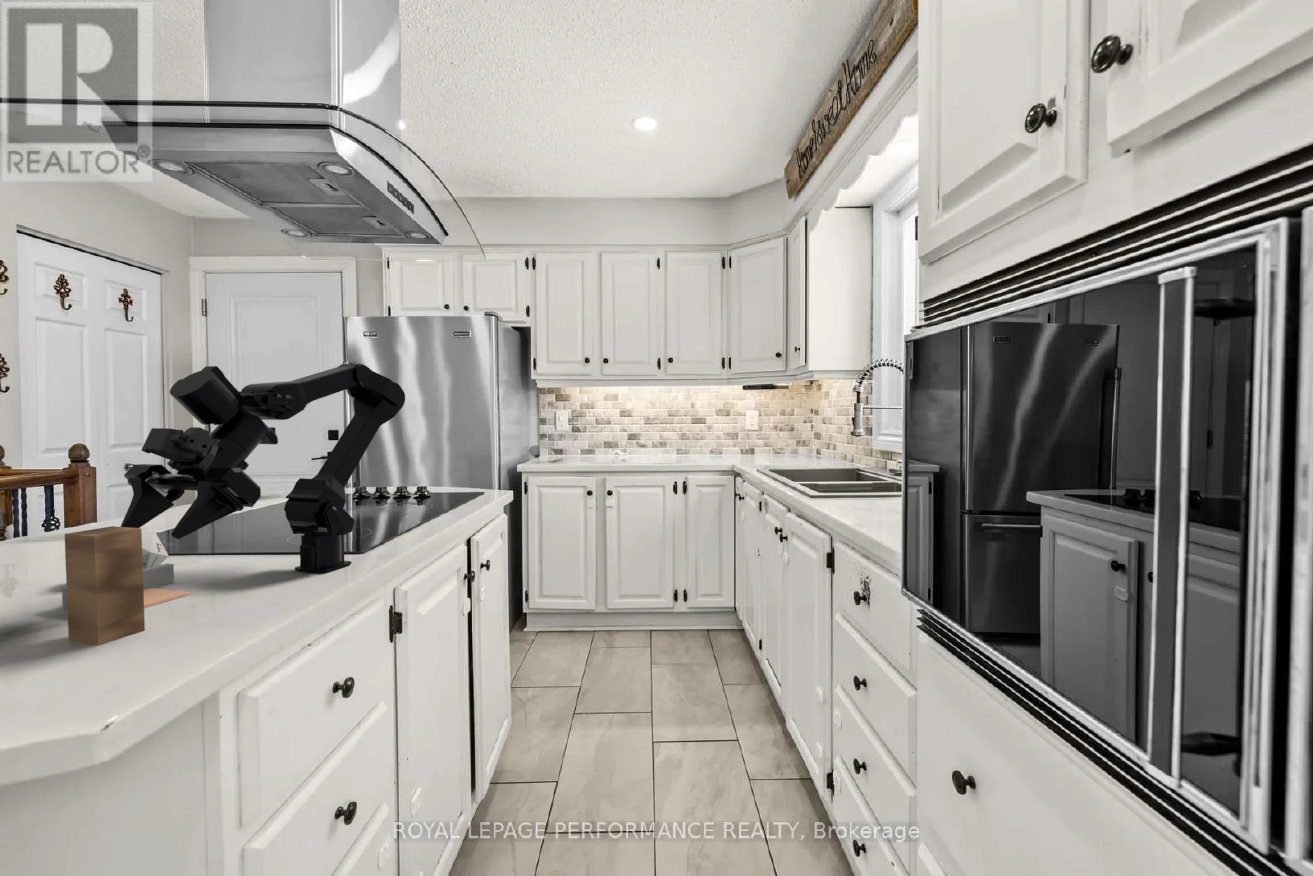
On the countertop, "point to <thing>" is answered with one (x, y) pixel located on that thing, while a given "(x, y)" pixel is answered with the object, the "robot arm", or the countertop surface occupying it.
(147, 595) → the pad
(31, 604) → the countertop surface
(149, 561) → the die
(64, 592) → the corner bracket
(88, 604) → the walnut block
